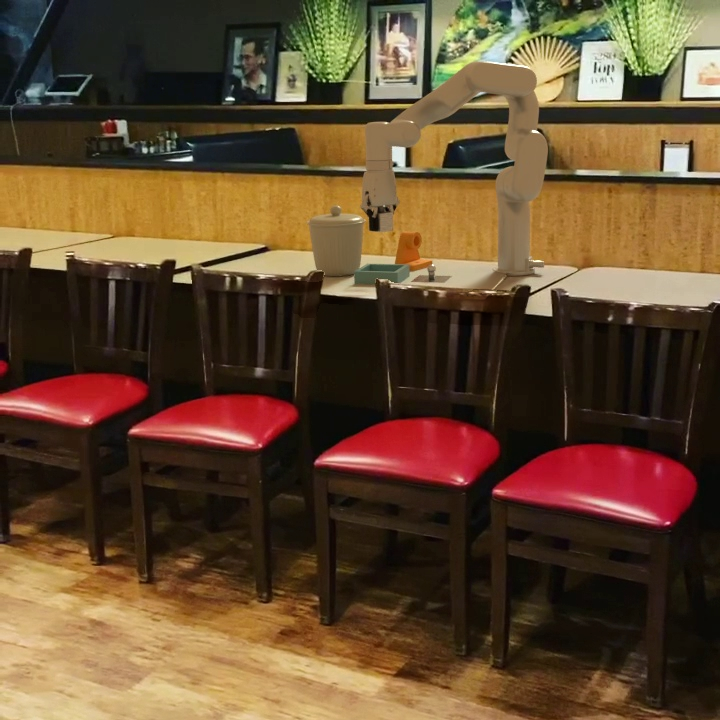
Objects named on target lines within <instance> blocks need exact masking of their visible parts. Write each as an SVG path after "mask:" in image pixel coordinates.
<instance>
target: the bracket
mask: <svg viewBox="0 0 720 720" xmlns="http://www.w3.org/2000/svg"><path fill="white" fill-rule="evenodd" d="M422 241H423V240H422V235H421V234H420V232H417V231H405V230H404V231H402V232H401V234H400V235H399V239H398V243H397V251H396V253H395V261H394V264H407V265H409V271H411V272H414V271H418V270H421V269H422V270H423V269H426V268H428V266H429V265H433V260H432V259H423V258H421V255H420V253H419V249H420V248H421V245H422Z"/></svg>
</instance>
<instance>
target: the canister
mask: <svg viewBox="0 0 720 720" xmlns="http://www.w3.org/2000/svg"><path fill="white" fill-rule="evenodd" d="M329 212H330V213H326V214H320V215H314V216H313V217H311V218H309V220H307V221H306V224H307V225H308V227H309V234H310V236H309V237H310V241H311V247H312V248H311V249H312V253H313V254H312V255H313V260H314V266H315V268H316V271H317V270H322V271H324V272H325V277H347V276H351V275H354V271H356V270H358V269H359V268H361V264H362V263H361V260H362V251H363V238H364V227H365V225H364V224H365V223H366V221H367V220H366V218H363V217H362V216H361V215H358V214H355V213H342V207H341V206H339V205H332V206H331V207H330V208H329Z"/></svg>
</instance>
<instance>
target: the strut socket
mask: <svg viewBox="0 0 720 720" xmlns="http://www.w3.org/2000/svg"><path fill="white" fill-rule="evenodd" d="M376 217H378V231H372V232H373V233H386V232H391V231H392V232H394V215H393V212H386V211H385V206H381V207H378V209H377V215H376ZM368 232H371V231H370V230H369V229H368Z"/></svg>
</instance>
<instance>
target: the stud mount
mask: <svg viewBox="0 0 720 720" xmlns="http://www.w3.org/2000/svg"><path fill="white" fill-rule="evenodd" d="M426 268H427V269H426V270H427V273H428V275H427V274H420V275H418V276H416V277H415V278H414V279H412V280H411V281H410V282H411V283H413V282H414V283H439V284H440V283H441V284H442V283H443V284H444V283H446V282H447V281H448V280H450V279H451V278H452V277H453V275H436V273H435V272H436V270H437V268H436V265H435V264H432V265H429V266H428V267H426Z"/></svg>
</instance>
